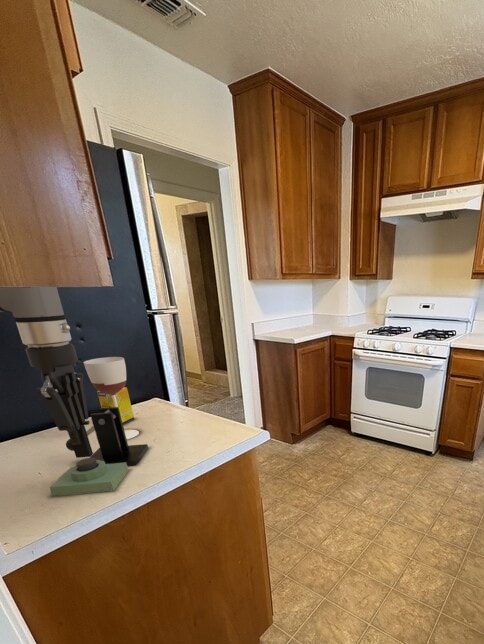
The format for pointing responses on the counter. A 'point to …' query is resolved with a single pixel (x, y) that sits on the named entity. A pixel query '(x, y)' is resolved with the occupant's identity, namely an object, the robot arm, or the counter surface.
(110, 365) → the wineglass
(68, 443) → the lever
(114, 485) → the button box
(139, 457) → the bracket
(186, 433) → the counter surface
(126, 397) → the supplement box
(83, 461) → the button
